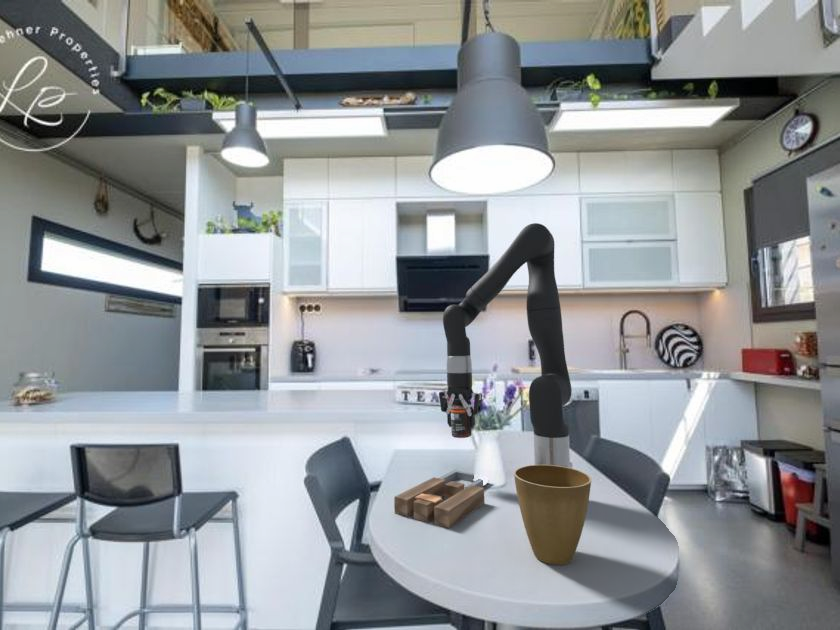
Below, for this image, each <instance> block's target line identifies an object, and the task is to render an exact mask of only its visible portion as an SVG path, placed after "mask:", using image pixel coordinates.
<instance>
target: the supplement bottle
mask: <svg viewBox="0 0 840 630" xmlns="http://www.w3.org/2000/svg"><path fill="white" fill-rule="evenodd" d="M468 416H469V415H468V413H467V411H466V409H465V408H464V406H463V404H462V402H461V400H460V399H454V404H453V406H452V407H451V427H450V428H451V437H453V438H456V439H465V438H467V439H468V438H470V437H471V436H472V429H468Z"/></svg>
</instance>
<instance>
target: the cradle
mask: <svg viewBox="0 0 840 630" xmlns="http://www.w3.org/2000/svg"><path fill="white" fill-rule="evenodd" d="M474 474H475V473H473V472H468V471H462V470H457V469H453V470H452V471H450V472H448V473H445V474H444V475H441V476H440V477H438V478H439V479H444V480H446V484H447V483H449V482H451V481H454V480H456V479H457V480H463V481H468V482H472V483H470V484H468V485H466V486H464V489H465V488H467V487H468V486H470V485H473V486H477V487H482V488H484V487H483V480H481V479H478V480H476V481H474V482H473V479H474Z"/></svg>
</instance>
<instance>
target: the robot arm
mask: <svg viewBox="0 0 840 630" xmlns="http://www.w3.org/2000/svg"><path fill="white" fill-rule="evenodd" d="M524 264H526V265H527V272H528V288H527V293H526V318H527V327H528V331H529V334H530V337H531V338H532V341H533V343H534V346H535V348H536V350H537V352H538V355H539V360H540V369H541V371H540V372H541V375H540V376H538V377H536V378H534V379H533V380H532V381H531V383H530V386H529V391H528V400H529V401H528V403H529V404H528V405H529V406H528V407H529V419H530V422H531V425H532V429H533V449H534V450H533V453H534V455H533V457H534V461H533V462H534V465H555V466H562V467H568V468H572V469H574V468H573V462H571V453H570V450H571V449H570V427H569V424H568V423H567V422H565V420H564V413H563V406H565V405H567V404H568V403H569V401H570V399H571V396H572V393H573V392H572V383H571V378H570V375H569V369H568V365H567V360H566V354H565V343H564V342H565V341H564V331H563V319H562V309H561V302H560V295H559V290H558V286H557V285H558V284H557V279H556V275H555V273H556V272H555V239H554V236H553V234H552V233H551V232H550V229H548V228H547V227H546V226H545V224H541V223H537V222H535V223H530V224H528V225H526V226H524V227H523V228H522V229H521V230H520V231H519V233H518V235H516V237H515V239H514V240H513V241H512V242H511V244H510V245H509V247H508V248H507V249H506V250H505V251H504V253H502V255H501V256H500V258H499V259H498V260H497V261H496V262H495V263H494V264H493V266H492V267H491V268H489V269H488V271H487V272H486V273H484V274H483V275H482V277H481V278H479V279H478V280H477V281H476V282H475V283H474V284H473V285H472V286H471V287H470V288H469V289H468V290H467V292H466V293H465V298H463V300H462V301H461V302H460V303H458V304H449V305H448V306H447V307H446V308H445V309H444V312H443V314H442V324H443V325H442V326H443V331H444V335H445V339H446V355H447V357H446V359H447V360H446V384H447V391H439V392H438V397H439V403H440V405H439V406H440V411H441V412H443V413H445V414H446V418H447V420H446V421H447V425H448V427H449V428H451V407H452V406H453V404H454V399H460V400H461V402H462V404H463V406H464V408H465V409H466V411H467V413H468V415H469V416H468V429H471V430H473V429H474V427H475V426H476V415H478V414H480V413H482V403H483V402H482V401H483V393H482V392H479V393H477V392H474V390H473V365H472V359H471V358H472V357H471V342H470V338H469V337H468V336H467V332H466V331H467V330H466V327H468V326H469V325H471V324H472V323H473V322H474V321H475V320H476V319H477V317H478V316H479V314H480V313H481V312H482V310H483V309H484V308H485V307H486V306H488V305H489V304H490V303H491V302H492V301H493V300H494V299H495V298H496V297H497V296H498V295H499V294H500V293H501V292H502V291H503V290H504V288H505V287H506V286H507V284H508V283H509V281H510V280H511V278H512V277H513V276H514V275H515V273H516V272H517V271H518V270H519V269H520V268H522V266H523V265H524ZM448 398H449V400H448ZM472 399H473V402H472Z"/></svg>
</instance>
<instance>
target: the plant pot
mask: <svg viewBox="0 0 840 630" xmlns="http://www.w3.org/2000/svg"><path fill="white" fill-rule="evenodd" d="M572 468H573V467H572ZM572 468H568V467H562V466H555V465H535V464H530V465H524V466H521V467H519V468H516V469H515V470H514V471H513V475H514V476H513V477H514V481H515V482H514V483H515V489H516V490H515V491H516V495H517V501H518V506H519V511H520V514H521V518H522V522H523V525H524V529H525V533H526V536H527V538H528V541H529V544H530V547H531V549H532V553H533V555H534V557H535V558H536V559H537V560H539V561H541V562H543V563H545V564H548V565H553V566H562V565H568V564H569V563H571V562H572V561H573V559H574V557H575V554H576V551H577V548H578V546H579V542H580V540H581V536H582V532H583V529H584V525H585V521H586V518H587V512H588V507H589V501H590V493H591V485H592V478H591V476H590V475H589V474H587V473H585V472H583V471H582V470H578V469H575V468H573V469H572Z"/></svg>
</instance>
